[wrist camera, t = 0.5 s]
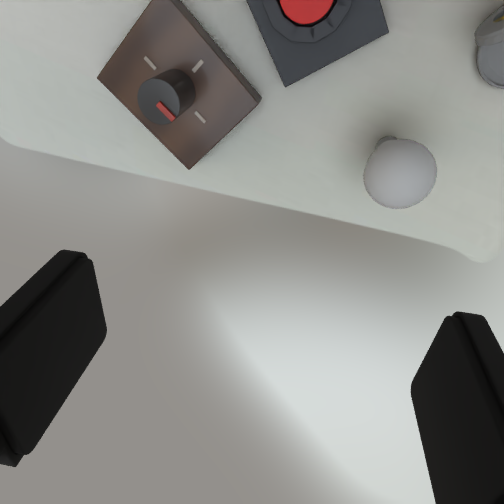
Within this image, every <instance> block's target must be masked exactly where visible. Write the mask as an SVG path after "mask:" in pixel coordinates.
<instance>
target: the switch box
mask: <svg viewBox="0 0 504 504" xmlns="http://www.w3.org/2000/svg"><path fill="white" fill-rule="evenodd" d="M247 2H248V5H249V7H250V9H251V11H252V14H253V16H254V18H255V20H256V23H257V25H258V27H259V30H260V32H261V34H262V36H263V39H264V41H265V43H266V45H267V48H268V50H269V52H270V54H271V57H272V59H273V61H274V63H275V66H276V68H277V70H278V72H279V75H280V77H281V79H282V81H283V84H284V86H285V87H287V86H289V85H291V84H293V83H294V82H296V81H298V80H300V79H302V78H304V77H306V76H308V75H310V74H311V73H313V72H315V71H317V70H319V69H321V68H323V67H325V66H326V65H328V64H330V63H332V62H334V61H336V60H338V59H340V58H342V57H343V56H345V55H347V54H349V53H351V52H353V51H355V50H357V49H358V48H360V47H362V46H364V45H366V44H368V43H370V42H372V41H374V40H375V39H377V38H379V37H381V36H383V35H385V34H387V33H388V32H389V30H388V27H387V24H386V20H385V17H384V13H383V10H382V7H381V3H380V0H333V3H332V5H331V7H330V9H329V10H328V11H327V13H326V14H325V15H324V16H323V17H322V18H321V19H319V20H317V21H315V22H313V23H309V24H300V23H297V22H295V21H293V20H291V19H290V18H289V17H288V16H287V15H286V14H285V12H284V11H283V9H282V7H281V4H280V0H247Z"/></svg>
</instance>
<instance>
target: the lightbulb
mask: <svg viewBox="0 0 504 504" xmlns="http://www.w3.org/2000/svg"><path fill="white" fill-rule="evenodd" d="M363 176H364V184H365V188H366V190H367V192H368V194H369V195H370V196H371V197H372V199H373V200H374V201H376V202H377V203H379V204H380V205H382V206H385V207H388V208H392V209H402V208H407V207H411V206H413V205H415V204H417V203H419V202H420V201H422V200H423V199H424V198H425V197H426V196H427V195H428V194H429V193H430V192H431V190H432V188H433V186H434V184H435V181H436V177H437V167H436V161H435V159H434V157H433V155H432V154H431V152H430V151H429V150H428V149H427V148H426V147H425V146H424V145H422V144H420V143H418V142H416V141H412V140H408V139H399V140H398V139H396V138H395V137H392V136H387V137H384V138H382V139H381V140H379V141H378V143H377V144H376V148H375V151H374V152H373V153H372V155H371V156H370V158H369V159H368V161H367V163H366V166H365V169H364V175H363Z"/></svg>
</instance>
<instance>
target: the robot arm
mask: <svg viewBox="0 0 504 504" xmlns="http://www.w3.org/2000/svg"><path fill="white" fill-rule="evenodd" d="M106 333H107V327H106V322H105V317H104V313H103V308H102V303H101V298H100V294H99V289H98V284H97V280H96V275H95V270H94V266H93V262H92V260H90V259H88V257H87V255H86V254H85V253H83V252H76V251H70V250H61V251H59V252H58V253H57V254H56V255H55V256H54V257H52V259H50V260H49V261H48V262H47V263H46V264H45V265H44V266H43V267H42V268H41V269H40V270H39V271H38V272H37V273H36V274H34V275H33V276H32V277H31V278H30V279H29V280H28V281H27V282H26V283H25V284H24V285H23V286H22V287H21V288H20V289H19V290H17V291H16V292H15V293H14V294H13V295H12V296H11V297H10V298H9V299H8V300H7V301H6V302H5V303H4V304H3V305H2V306H0V464H3V465H8V466H12V467H16V466H17V465H18V463H19V462H20V460H21V458H22V457H23V456H24V455H27V454H29V453H30V452H31V451H33V449H34V448H35V446H36V445H37V443H38V442H39V440H40V439H41V437H42V436H43V434H44V433H45V431H46V429H47V428H48V426H49V425H50V423H51V422H52V420H53V418H54V417H55V415H56V414H57V412H58V411H59V409H60V408H61V406H62V405H63V403H64V402H65V400H66V399H67V397H68V395H69V394H70V392H71V391H72V389H73V388H74V386H75V385H76V383H77V382H78V380H79V378H80V377H81V375H82V374H83V372H84V371H85V369H86V367H87V366H88V364H89V363H90V361H91V360H92V358H93V357H94V355H95V354H96V352H97V351H98V349H99V347H100V346H101V344H102V343H103V341H104V339H105V337H106ZM411 397H412V401H413V406H414V410H415V415H416V419H417V423H418V428H419V432H420V437H421V441H422V445H423V450H424V454H425V458H426V463H427V467H428V471H429V476H430V480H431V485H432V489H433V493H434V497H435V502H436V504H504V353H503V351H502V349H501V347H500V345H499V343H498V342H497V340H496V338H495V336H494V334H493V332H492V330H491V328H490V326H489V325H488V322H487V320H486V319H485V317H484V316H482V315H477V314H471V313H465V312H455V313H454V314H453V315H452V316H447V317H446V318H445V319H444V321H443V323H442V325H441V327H440V329H439V330H438V332H437V334H436V336H435V338H434V340H433V342H432V344H431V346H430V348H429V350H428V352H427V354H426V356H425V358H424V360H423V361H422V364H421V365H420V367H419V369H418V371H417V373H416V375H415V377H414V379H413V381H412V384H411Z"/></svg>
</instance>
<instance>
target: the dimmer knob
mask: <svg viewBox="0 0 504 504" xmlns="http://www.w3.org/2000/svg"><path fill="white" fill-rule="evenodd" d="M194 99H195V88H194V84H193V82H192V80H191V79H190V78H189V76H188V75H187V74H185V73H184V72H182V71H180V70H177V69H170V70H167V71H165V72H163V73H160V74H158V75H156V76H154V77H152V78H150V79H148V80H146V81H145V82H143V83H142V84H141V86H140V88H139V90H138V94H137V100H138V105H139V108H140V110H141V112H142V113H143V115H144V116H145V117H146V118H147V119H148V120H150V121H151V122H153V123H155V124H159V125H166V124H169V123H171V122H173V121H174V120H175V119H176V118H178V117H179V116H180V115H181V114H182V113H184V112H185V111H186V110H187V109H188V108H189V107H191V105H192V104H193V102H194Z"/></svg>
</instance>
